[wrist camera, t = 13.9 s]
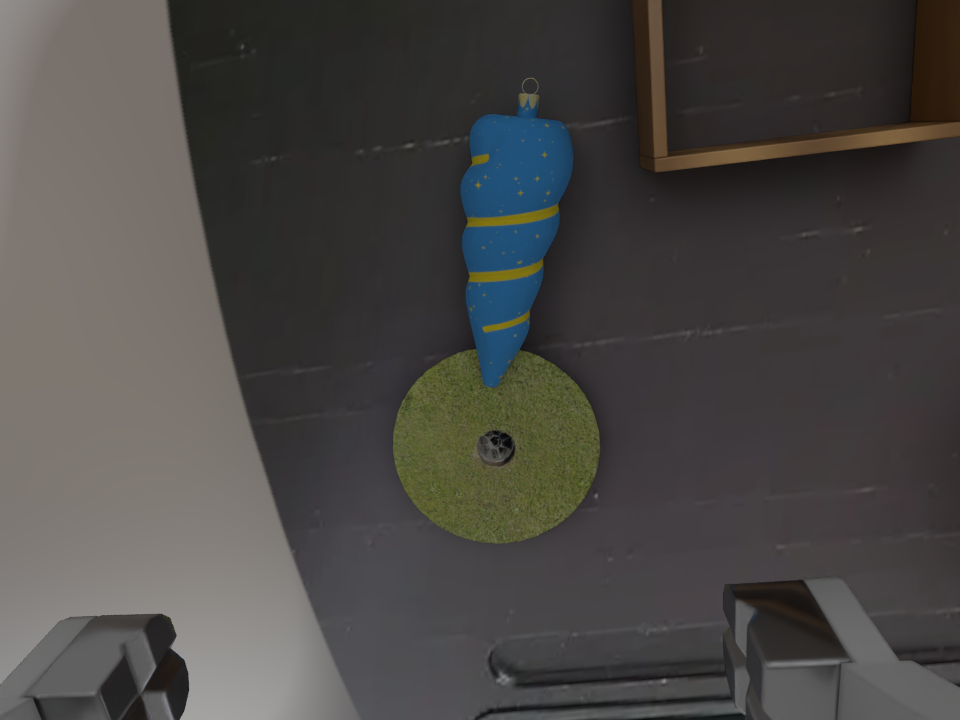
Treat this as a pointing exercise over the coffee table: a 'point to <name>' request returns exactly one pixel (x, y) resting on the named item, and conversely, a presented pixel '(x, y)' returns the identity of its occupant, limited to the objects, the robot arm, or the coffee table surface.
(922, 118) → the wooden box
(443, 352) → the coffee table surface
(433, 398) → the green flat round disc
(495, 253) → the ornament
